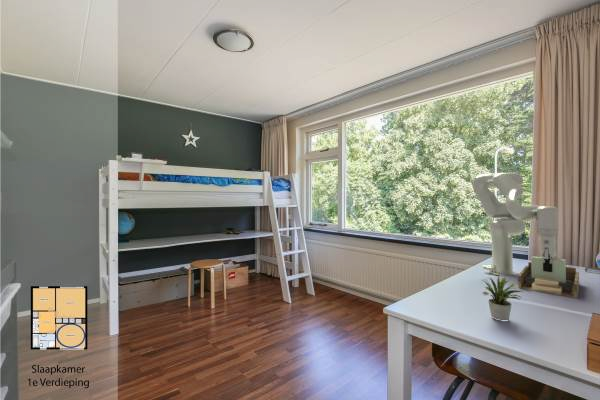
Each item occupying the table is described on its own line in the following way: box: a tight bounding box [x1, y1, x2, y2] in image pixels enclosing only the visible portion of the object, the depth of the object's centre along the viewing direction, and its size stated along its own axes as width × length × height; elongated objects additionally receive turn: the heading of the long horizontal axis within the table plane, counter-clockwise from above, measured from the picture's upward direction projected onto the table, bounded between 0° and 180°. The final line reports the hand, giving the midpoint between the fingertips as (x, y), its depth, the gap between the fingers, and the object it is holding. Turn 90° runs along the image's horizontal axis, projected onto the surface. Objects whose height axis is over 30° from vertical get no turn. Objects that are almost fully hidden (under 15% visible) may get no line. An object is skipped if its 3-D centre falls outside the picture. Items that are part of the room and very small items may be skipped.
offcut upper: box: [535, 278, 559, 289], centre depth 127 cm, size 4×8×2 cm, turn 44°
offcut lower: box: [532, 282, 562, 296], centre depth 127 cm, size 6×10×2 cm, turn 44°
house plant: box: [481, 275, 523, 321], centre depth 102 cm, size 14×14×16 cm
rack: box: [517, 261, 580, 299], centre depth 134 cm, size 25×20×9 cm
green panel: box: [530, 255, 567, 283], centre depth 132 cm, size 3×12×14 cm, turn 44°
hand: (548, 270), depth 132 cm, fingers closed on green panel, 3 cm apart
